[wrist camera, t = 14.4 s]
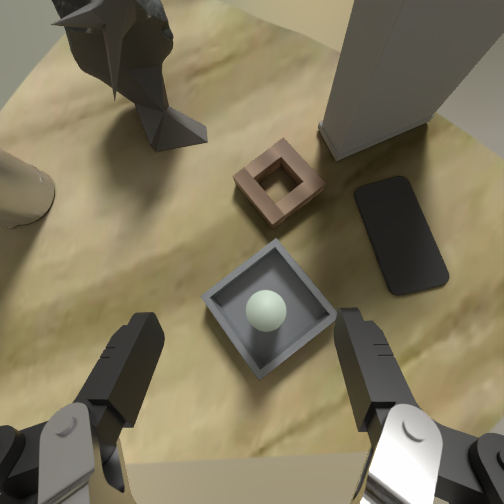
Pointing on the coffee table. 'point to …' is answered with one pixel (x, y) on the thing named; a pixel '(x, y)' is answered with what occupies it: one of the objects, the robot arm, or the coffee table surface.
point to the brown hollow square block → (267, 164)
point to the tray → (291, 291)
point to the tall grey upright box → (403, 66)
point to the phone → (400, 236)
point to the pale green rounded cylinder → (266, 310)
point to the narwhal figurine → (130, 61)
